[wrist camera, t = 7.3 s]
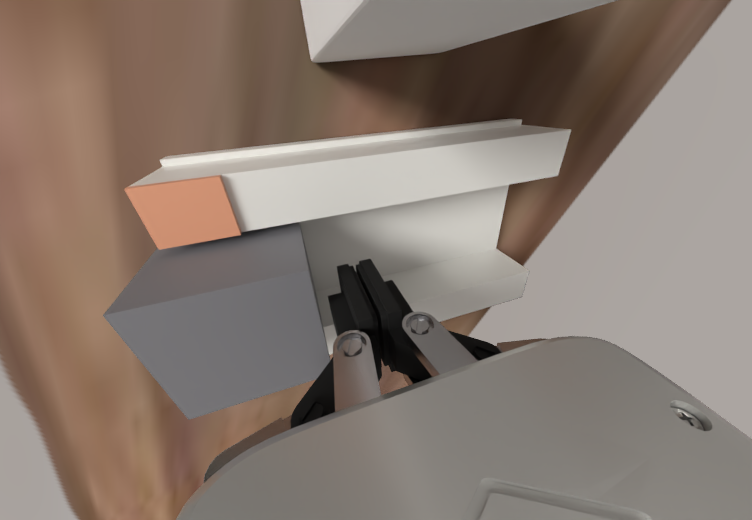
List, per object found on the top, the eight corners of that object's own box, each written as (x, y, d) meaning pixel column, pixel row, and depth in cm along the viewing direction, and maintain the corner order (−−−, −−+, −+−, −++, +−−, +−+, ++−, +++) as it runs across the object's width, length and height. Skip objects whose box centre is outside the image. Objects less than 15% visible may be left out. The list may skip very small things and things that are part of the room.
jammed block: (296, 206, 15) (308, 270, 9) (315, 288, 18) (333, 373, 12) (174, 226, 13) (102, 315, 8) (218, 312, 16) (188, 419, 11)
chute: (510, 118, 17) (578, 123, 14) (483, 269, 24) (523, 302, 20) (166, 156, 13) (118, 180, 9) (246, 331, 19) (238, 389, 15)
